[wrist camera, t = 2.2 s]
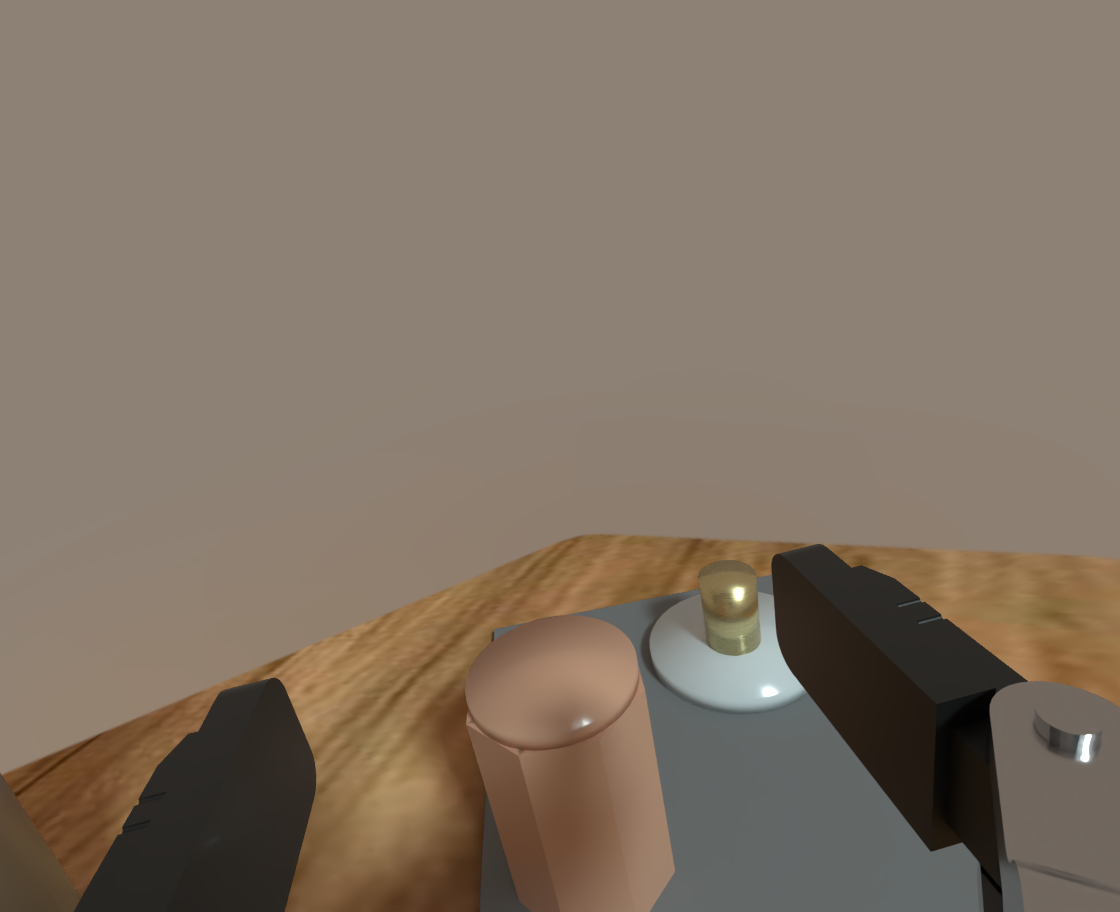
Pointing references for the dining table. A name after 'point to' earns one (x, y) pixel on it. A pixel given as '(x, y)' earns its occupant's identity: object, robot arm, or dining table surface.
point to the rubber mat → (765, 810)
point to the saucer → (721, 663)
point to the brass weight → (730, 607)
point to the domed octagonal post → (571, 766)
